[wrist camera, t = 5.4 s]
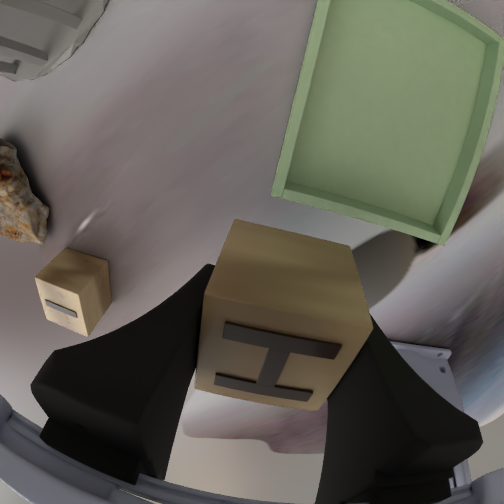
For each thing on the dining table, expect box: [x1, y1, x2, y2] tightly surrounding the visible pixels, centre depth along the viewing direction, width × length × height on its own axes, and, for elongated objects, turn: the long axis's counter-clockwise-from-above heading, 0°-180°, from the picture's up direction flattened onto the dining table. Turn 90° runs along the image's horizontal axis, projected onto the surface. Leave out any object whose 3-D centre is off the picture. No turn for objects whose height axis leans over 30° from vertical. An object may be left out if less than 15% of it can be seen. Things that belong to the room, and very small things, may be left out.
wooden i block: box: [35, 248, 112, 337], centre depth 21 cm, size 4×4×5 cm
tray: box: [271, 0, 504, 246], centre depth 13 cm, size 11×14×2 cm
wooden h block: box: [194, 219, 373, 411], centre depth 10 cm, size 4×4×5 cm
